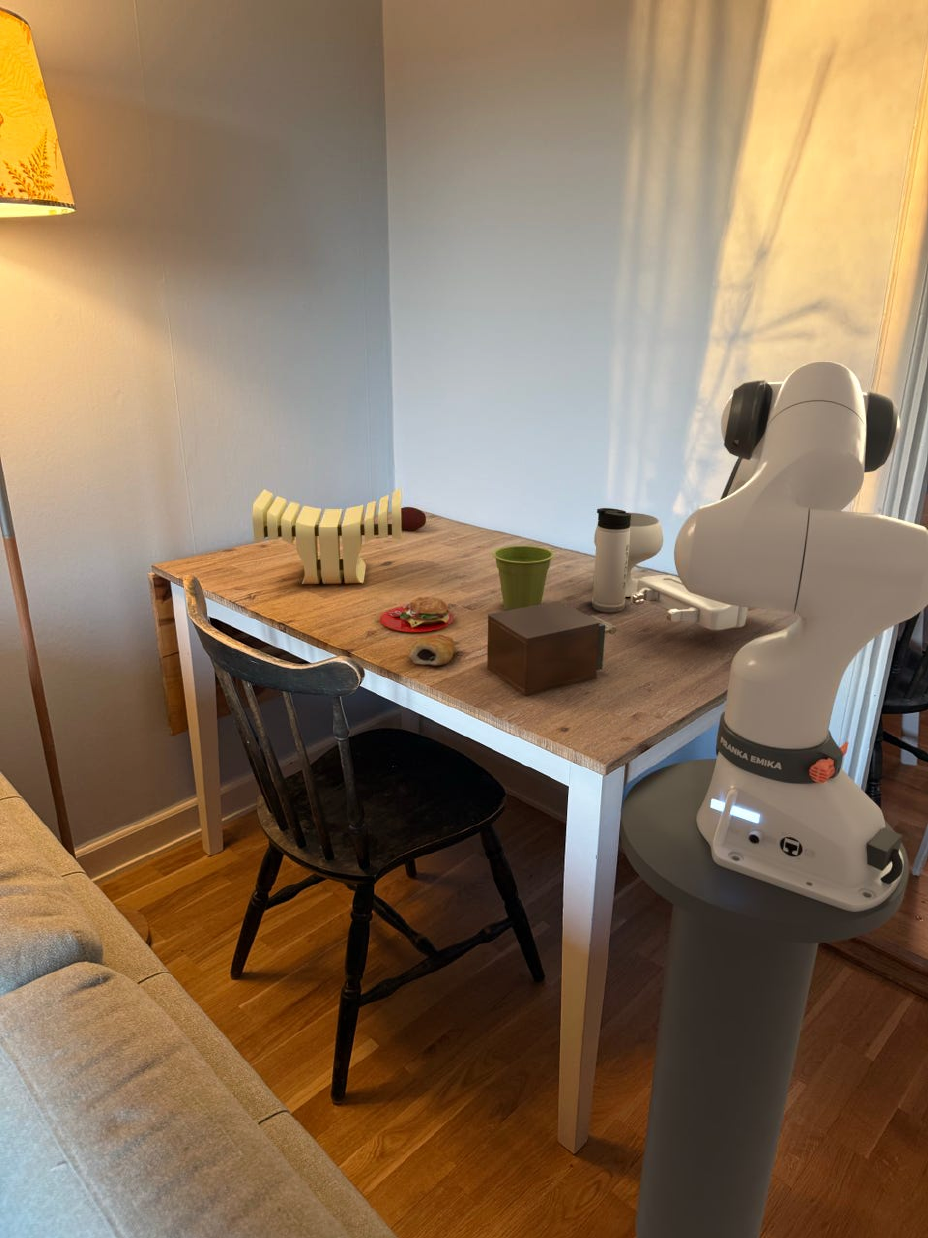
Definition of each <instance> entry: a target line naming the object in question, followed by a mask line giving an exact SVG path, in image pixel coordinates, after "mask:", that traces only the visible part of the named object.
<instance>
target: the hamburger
mask: <svg viewBox="0 0 928 1238" xmlns="http://www.w3.org/2000/svg"><path fill="white" fill-rule="evenodd" d="M454 617H455V616H454V615H453V614H452V612H450V611H449V606H448V605H447V603H446V602H445V601H444V600H443V599H440V598H437V597H431V596H418V597H416V598H414V599H413V600H411V601H410V602H409V603H408V604H406V605H402V606H396V607H393V608H391V609H388V610H386V611H384V612H383V613H382V614H381V615H380V616H379V622H380V623H381V624H382V625H383V626H384V627H386V628H389V629H391V630H395V631H399V632H409V633H421V632H431V631H435V630H440V629H443V628H445V627H447V626H449V625H450V624H452V622H453V621H454Z"/></svg>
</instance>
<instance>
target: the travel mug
mask: <svg viewBox="0 0 928 1238" xmlns="http://www.w3.org/2000/svg"><path fill="white" fill-rule="evenodd" d="M596 513H597V515H598V516H597V525H596V528H597V539H596V546H595V556H594V557H595V558H594V573H593V587H592V588H593V589H592V603H591V604H592V605H591V606H592V608H593V609H594V610H596V611H598V612H600V613H606V614H607V613H608V614H609V613H610V614H615V613H620V612H622V611H623V610H624V609H625V604H626V603H625V600H626V596H625V591H626V578H627V565H628V553H629V540H630V527H631V526H630V522H631V514H629V513H630V512H627V511H626V510H623V509H618V508H612V507H611V508H610V507H600V508H597V509H596Z"/></svg>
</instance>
